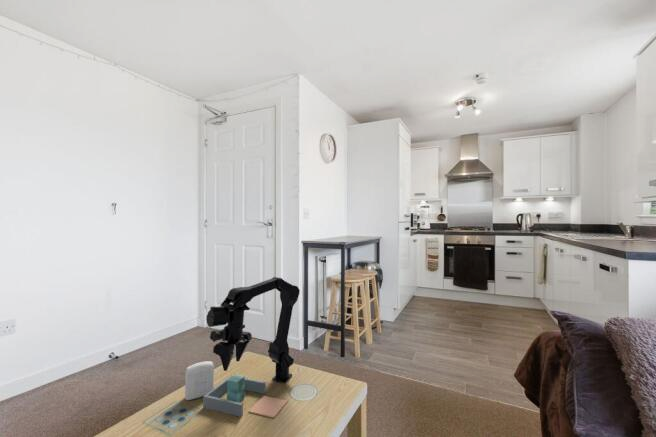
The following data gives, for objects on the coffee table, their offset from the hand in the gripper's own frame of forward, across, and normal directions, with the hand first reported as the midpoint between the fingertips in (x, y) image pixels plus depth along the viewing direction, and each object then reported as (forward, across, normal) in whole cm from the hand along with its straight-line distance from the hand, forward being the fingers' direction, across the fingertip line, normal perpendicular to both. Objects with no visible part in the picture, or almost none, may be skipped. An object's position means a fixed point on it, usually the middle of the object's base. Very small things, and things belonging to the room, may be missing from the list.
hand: (231, 365), depth 112 cm
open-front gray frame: (+13, -2, +2) cm, 13 cm away
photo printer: (+14, -2, -13) cm, 19 cm away
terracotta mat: (+12, 0, +16) cm, 20 cm away
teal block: (+13, -2, +2) cm, 13 cm away
